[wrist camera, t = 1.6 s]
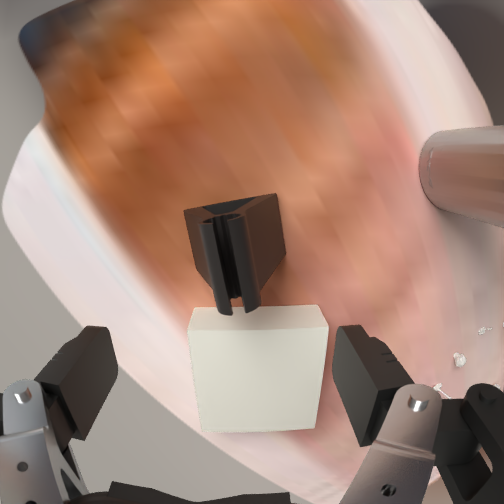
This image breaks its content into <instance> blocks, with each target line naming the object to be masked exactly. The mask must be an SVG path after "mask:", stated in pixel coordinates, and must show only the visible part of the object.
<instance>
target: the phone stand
mask: <svg viewBox="0 0 504 504" xmlns="http://www.w3.org/2000/svg"><path fill="white" fill-rule="evenodd" d="M184 216H185V220H186V225H187V230H188V234H189V239H190V243H191V248H192V252H193V257H194V261H195V265H196V269H197V271H198V272H199V273H200V274H201V276H202V277H203V278H204V279H205V281H206V282H207V283H208V284H209V286H210V287H211V288H212V289H213V293H214V297H215V301H216V306H217V310H218V312H219V313H220V314H223V315H227V316H232V315H233V310H232V306H231V301H230V300H231V298H238V297H239V296H240V297H242V301H243V306H244V310H245V313H249V312H251V311H253V310H255V309H257V308H258V307H259V306H260V305H261V297H260V290H261V289H262V287H263V286H264V285H265V283H266V282H267V280H268V279H269V277H270V276H271V275H272V273H273V272H274V270H275V269H276V267H277V266H278V264H279V263H280V262H281V260H282V259H283V257H284V256H285V254H286V251H285V245H284V238H283V232H282V225H281V219H280V213H279V206H278V200H277V194H276V193H274V194H268V195H262V196H256V197H250V198H245V199H239V200H233V201H229V202H223V203H217V204H212V205H207V206H202V207H197V208H192V209H187V210H184Z"/></svg>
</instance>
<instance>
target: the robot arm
mask: <svg viewBox="0 0 504 504" xmlns="http://www.w3.org/2000/svg"><path fill="white" fill-rule="evenodd" d="M419 174H420V180H421V184H422V187H423V189H424V192H425V194H426V195H427V197H428V198H429V200H430V201H431V202H432V203H433V204H434V205H435V206H437V207H438V208H440V209H443V210H446V211H449V212H453V213H456V214H460V215H463V216H466V217H470V218H473V219H476V220H479V221H483V222H486V223H489V224H492V225H495V226H499V227H502V228H504V125H502V126H488V127H476V128H466V129H456V130H447V131H440V132H438V133H435V134H434V135H432V136H431V137H430V138H429V139H428V140H427V142H426V143H425V145H424V147H423V149H422V152H421V156H420V162H419ZM332 373H333V379H334V382H335V384H336V387H337V389H338V392H339V394H340V397H341V399H342V402H343V404H344V407H345V409H346V412H347V414H348V417H349V419H350V422H351V425H352V427H353V430H354V432H355V435H356V437H357V440H358V443H359V445H360V447H363V446H368V445H371V447H370V449H369V451H368V453H367V455H366V457H365V459H364V461H363V463H362V465H361V467H360V469H359V470H358V472H357V474H356V476H355V478H354V479H353V481H352V483H351V485H350V486H349V488H348V490H347V491H346V493H345V495H344V496H343V498H342V500H341V501H340V503H339V504H422V501H423V498H424V495H425V492H426V489H427V486H428V483H429V479H430V476H431V472H432V469H433V466H437V468H438V470H439V473H440V475H441V477H442V479H443V481H444V483H445V486H446V488H447V490H448V492H449V495H450V497H451V499H452V501H453V504H504V393H503V392H502V391H501V390H500V389H498V388H497V387H495V386H493V385H490V384H485V383H480V384H475V385H473V386H471V387H470V388H469V389H468V391H467V393H466V395H465V397H464V399H442V398H441V396H440V394H439V393H438V392H437V391H436V390H434V389H433V388H431V387H429V386H426V385H422V384H415V383H414V382H413V380H412V379H411V377H410V376H409V375H408V373H407V372H406V371H405V369H404V368H403V366H402V365H401V364H400V362H399V361H397V358H396V357H395V356H394V354H392V352H391V350H390V349H389V348H388V346H387V345H386V344H385V343H384V342H382V341H380V340H379V339H377V338H376V337H369V336H368V335H367V333H366V332H365V330H364V329H363V327H362V326H361V325H349V326H339V327H338V329H337V334H336V342H335V349H334V356H333V364H332ZM117 375H118V364H117V360H116V356H115V352H114V348H113V344H112V340H111V336H110V332H109V330H108V328H107V327H99V326H86V327H85V328H84V329H83V330H82V332H81V333H80V334H79V335H78V336H77V337H76V338H74V339H72V340H70V341H69V342H67V343H65V344H64V345H63V346H62V347H61V349H60V350H59V351H58V354H55V356H54V357H53V358H52V360H50V361H49V362H48V363H47V365H46V366H45V367H44V368H43V369H42V370H41V372H40V373H39V374H38V375H37V376H36V378H35V379H34V380H30V379H29V380H28V379H24V380H19V381H16V382H14V383H12V384H11V385H9V386H8V387H7V389H5V391H4V393H0V499H1V504H295V503H291V502H290V494H289V492H285V493H271V494H243V495H238V496H233V497H228V498H222V499H216V500H210V501H203V502H192V501H188V500H185V499H181V498H179V497H175V496H172V495H169V494H166V493H163V492H160V491H158V490H155V489H152V488H146V487H140V486H134V485H129V484H124V483H119V482H114V481H112V483H111V486H110V489H109V492H95V493H89V491H88V490H87V487H86V485H85V483H84V480H83V478H82V475H81V472H80V470H79V467H78V464H77V462H76V459H75V456H74V453H73V450H72V448H71V446H70V444H69V441H70V440H71V438H75V439H79V440H83V441H85V439H86V437H87V435H88V433H89V431H90V429H91V427H92V425H93V423H94V421H95V419H96V417H97V415H98V413H99V411H100V409H101V408H102V406H103V403H104V402H105V400H106V398H107V396H108V394H109V392H110V390H111V388H112V386H113V385H114V383H115V381H116V379H117ZM481 447H483V449H484V451H485V452H486V454H487V455H488V457H489V459H490V460H491V462H492V466H493V471H492V473H491V471H490V469H489V467H488V466H487V464H486V462H485V461H484V459H483V457H482V456H481V454H480V452H479V450H480V448H481Z"/></svg>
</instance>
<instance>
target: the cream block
mask: <svg viewBox="0 0 504 504" xmlns="http://www.w3.org/2000/svg"><path fill="white" fill-rule="evenodd" d="M232 310H233V315H232V316H227V315H223V314H220V313H219V312H218V310H217V307H195V308H194V311H193V314H192V317H191V320H190V323H189V326H188V329H187V335H188V343H189V351H190V359H191V366H192V373H193V380H194V387H195V393H196V400H197V406H198V412H199V418H200V424H201V429H202V432H269V431H286V430H299V429H310V428H315V422H316V417H317V411H318V404H319V398H320V392H321V385H322V378H323V371H324V364H325V356H326V348H327V339H328V330H329V326H328V324H327V322H326V320H325V318H324V316H323V314H322V312H321V310H320V308H319V306H318V305H294V306H261V307H258V308H257V309H255V310H253V311H251V312H249V313H245V310H244V307H232Z"/></svg>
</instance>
